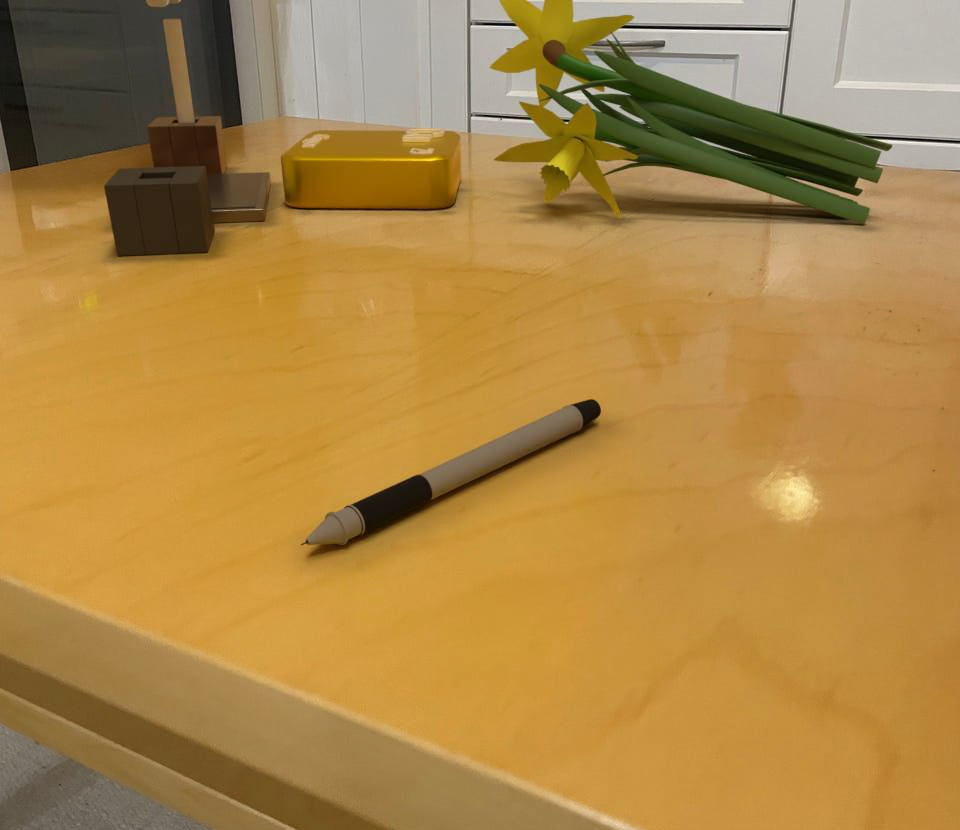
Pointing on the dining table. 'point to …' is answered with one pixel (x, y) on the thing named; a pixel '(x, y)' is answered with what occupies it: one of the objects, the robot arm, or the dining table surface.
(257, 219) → the tablet
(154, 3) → the robot arm
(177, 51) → the tan wooden bar
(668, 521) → the dining table surface
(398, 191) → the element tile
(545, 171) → the daffodil flowers
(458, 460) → the pen
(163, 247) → the holder
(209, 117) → the stand
